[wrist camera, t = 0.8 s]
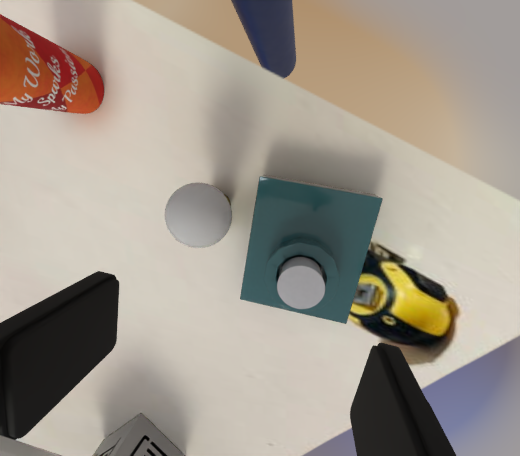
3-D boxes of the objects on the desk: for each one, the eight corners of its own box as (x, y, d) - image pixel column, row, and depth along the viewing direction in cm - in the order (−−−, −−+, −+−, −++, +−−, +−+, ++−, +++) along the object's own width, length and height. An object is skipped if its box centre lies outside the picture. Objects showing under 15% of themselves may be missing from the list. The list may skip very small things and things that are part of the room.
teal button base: (263, 174, 30) (256, 177, 25) (374, 194, 28) (389, 201, 24) (245, 287, 33) (235, 308, 29) (342, 309, 32) (349, 335, 27)
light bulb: (256, 196, 30) (234, 213, 21) (230, 237, 32) (199, 270, 23) (212, 167, 30) (170, 171, 21) (188, 209, 32) (140, 231, 22)
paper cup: (100, 136, 31) (-49, 119, 18) (44, 103, 32) (-147, 62, 18) (122, 68, 29) (-31, -8, 16) (61, 34, 29) (-142, -71, 16)
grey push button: (283, 252, 27) (281, 261, 24) (327, 261, 26) (330, 271, 24) (275, 291, 28) (273, 303, 26) (317, 301, 27) (319, 314, 25)
